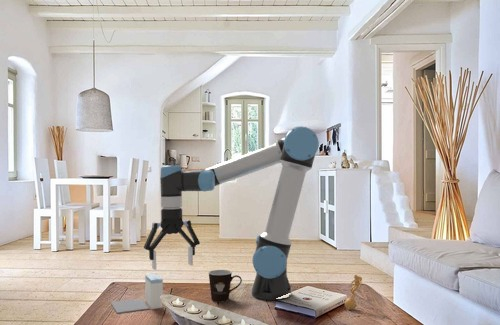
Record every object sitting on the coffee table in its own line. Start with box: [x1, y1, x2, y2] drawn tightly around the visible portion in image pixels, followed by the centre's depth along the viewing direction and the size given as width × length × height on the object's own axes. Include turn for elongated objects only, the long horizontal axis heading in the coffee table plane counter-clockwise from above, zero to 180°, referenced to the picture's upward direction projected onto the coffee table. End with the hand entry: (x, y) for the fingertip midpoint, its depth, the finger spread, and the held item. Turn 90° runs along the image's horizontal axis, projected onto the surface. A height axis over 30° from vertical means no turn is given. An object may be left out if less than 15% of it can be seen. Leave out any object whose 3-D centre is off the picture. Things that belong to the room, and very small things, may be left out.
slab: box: [144, 273, 164, 310], centre depth 166 cm, size 4×9×10 cm, turn 25°
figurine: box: [344, 274, 363, 311], centre depth 161 cm, size 8×6×12 cm
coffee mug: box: [208, 269, 243, 303], centre depth 172 cm, size 12×9×10 cm
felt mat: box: [110, 298, 151, 314], centre depth 164 cm, size 11×13×1 cm
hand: (172, 266), depth 169 cm, fingers open, 13 cm apart
